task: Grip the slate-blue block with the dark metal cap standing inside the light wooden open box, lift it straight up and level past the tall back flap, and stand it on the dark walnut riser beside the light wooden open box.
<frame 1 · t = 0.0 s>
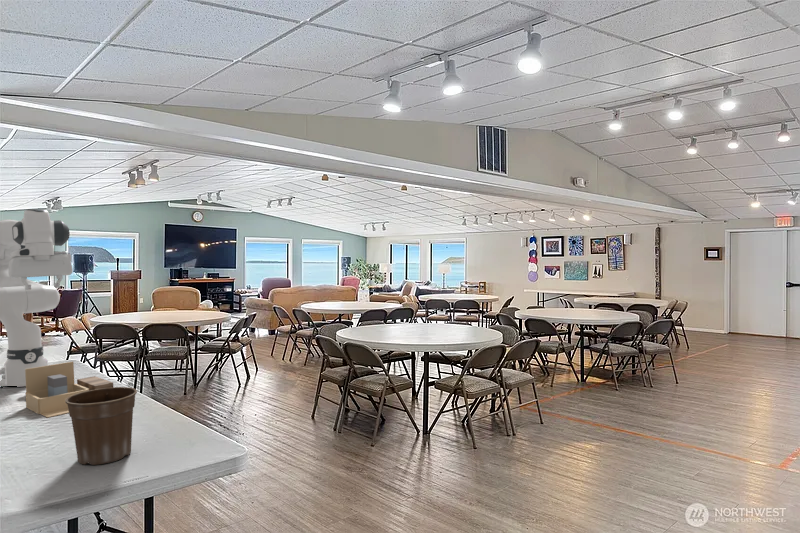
hand: (42, 288, 207), 39 cm above the table, tool pointing down, fingers open, 8 cm apart
plant pot: (104, 457, 143), on the table
light wooden open box: (58, 405, 191), on the table
capped block: (57, 391, 190), in the light wooden open box
riser: (95, 397, 200), on the table
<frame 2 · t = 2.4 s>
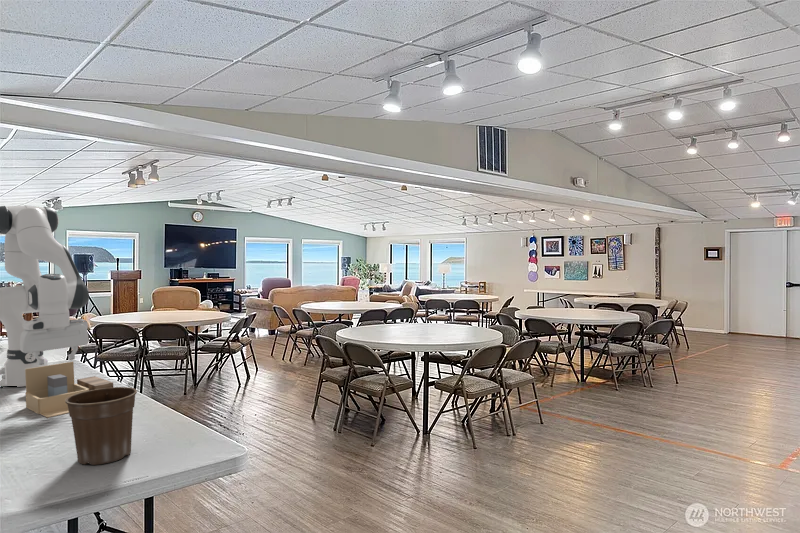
hand: (56, 362, 190), 15 cm above the table, tool pointing down, fingers open, 8 cm apart
nothing on the table moved.
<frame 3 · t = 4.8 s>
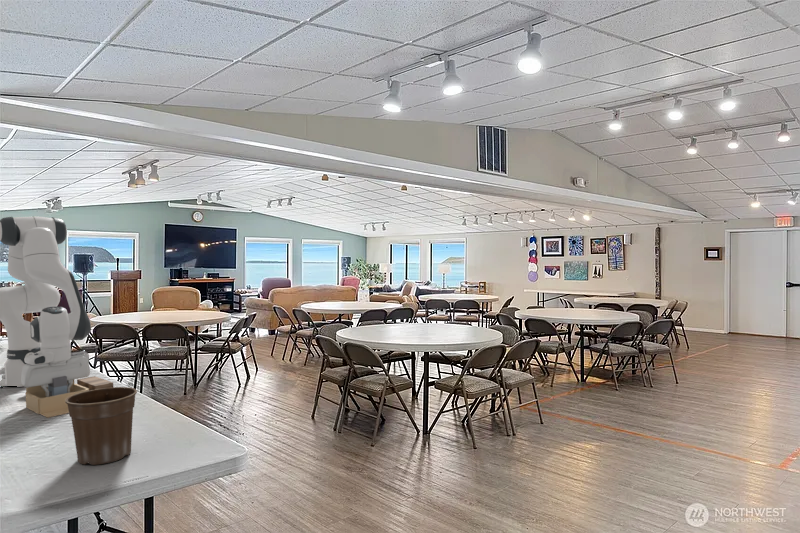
hand: (57, 394, 191), 4 cm above the table, tool pointing down, fingers closed on capped block, 4 cm apart
capped block: (57, 390, 190), in the light wooden open box, touching gripper
everything else where it was.
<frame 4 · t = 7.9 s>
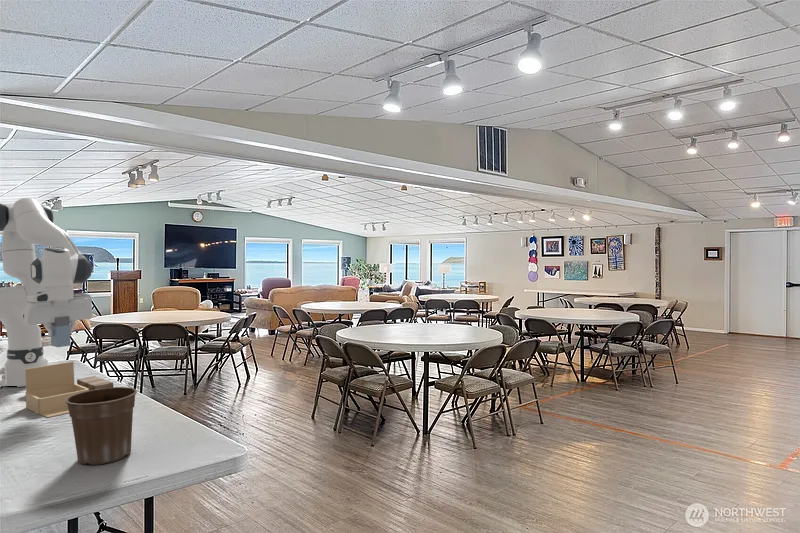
hand: (60, 335, 191), 24 cm above the table, tool pointing down, fingers closed on capped block, 4 cm apart
capped block: (60, 331, 191), point 25 cm above the table, touching gripper
everything else where it was.
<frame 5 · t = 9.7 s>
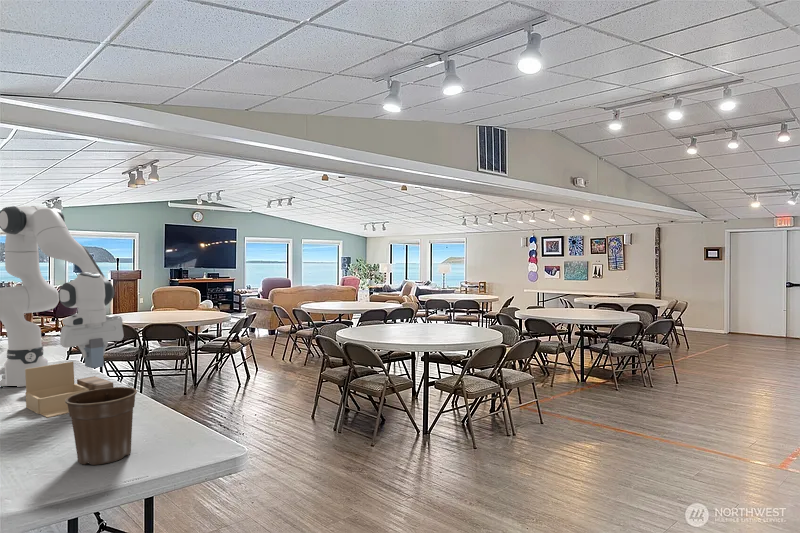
hand: (93, 356, 199), 15 cm above the table, tool pointing down, fingers closed on capped block, 4 cm apart
capped block: (93, 352, 199), point 16 cm above the table, touching gripper
everything else where it was.
when the fingers open (11 cm above the table, at t = 11.2 s): capped block drops 1 cm, resting on riser.
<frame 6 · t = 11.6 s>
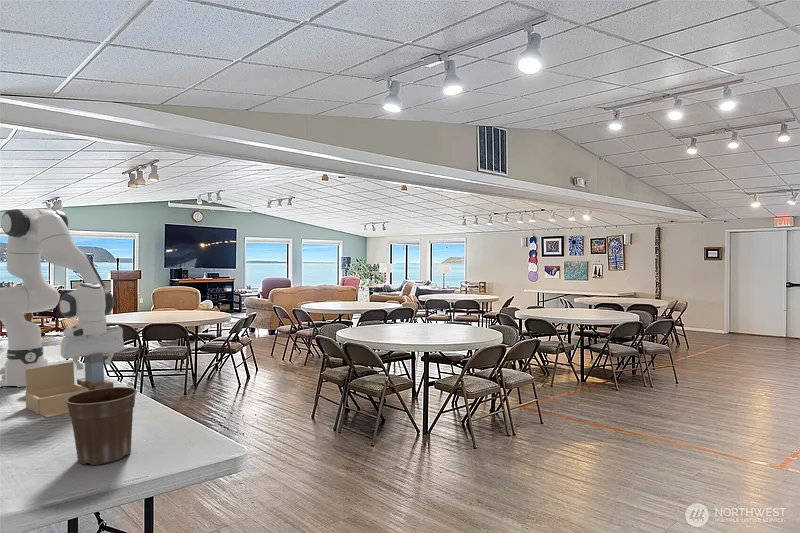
hand: (94, 366, 199), 11 cm above the table, tool pointing down, fingers open, 8 cm apart
capped block: (94, 367, 199), on the riser, point 11 cm above the table
everything else where it was.
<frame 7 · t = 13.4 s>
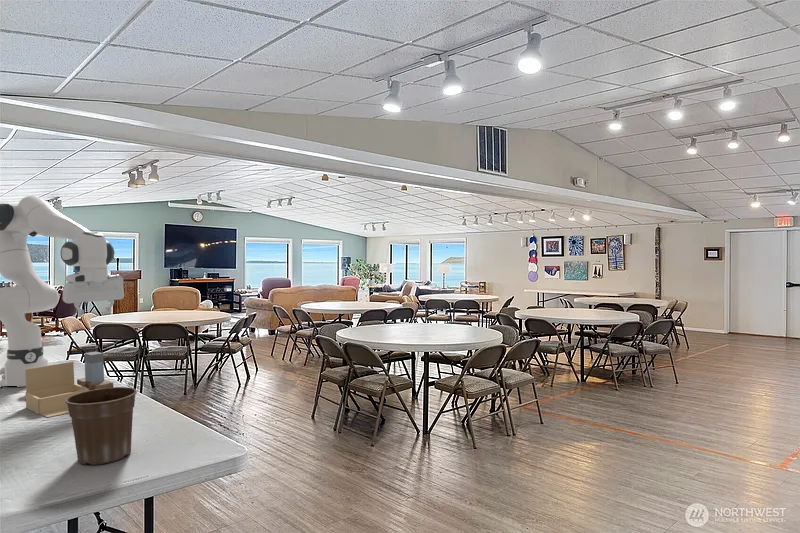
hand: (94, 313, 205), 30 cm above the table, tool pointing down, fingers open, 8 cm apart
nothing on the table moved.
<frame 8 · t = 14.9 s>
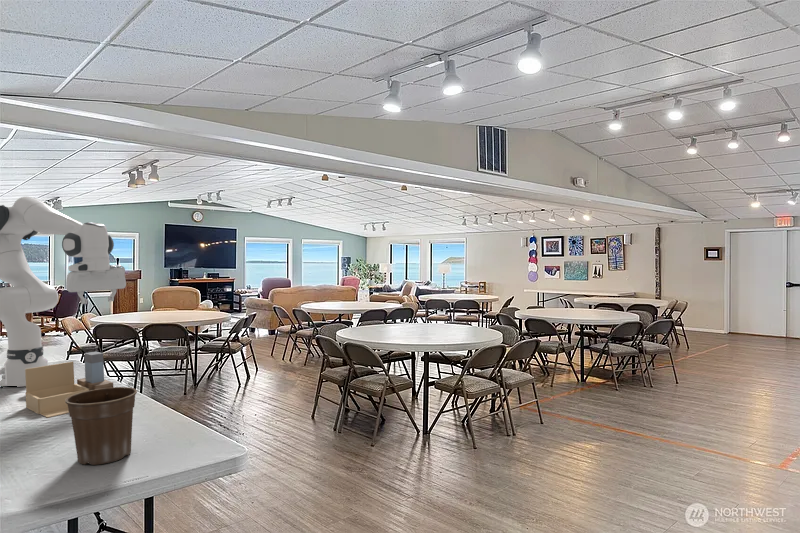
hand: (97, 302, 209), 33 cm above the table, tool pointing down, fingers open, 8 cm apart
nothing on the table moved.
at the end: capped block inside the target area (0.0 cm from its centre), point 11.0 cm above the table; capped block tilted 0°; the gripper is holding nothing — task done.
